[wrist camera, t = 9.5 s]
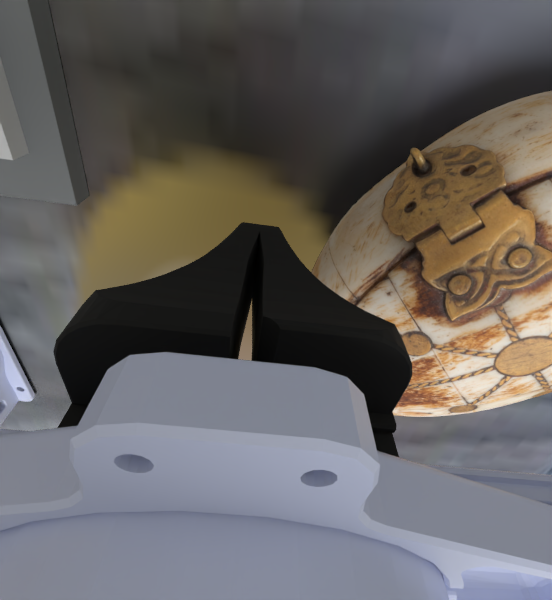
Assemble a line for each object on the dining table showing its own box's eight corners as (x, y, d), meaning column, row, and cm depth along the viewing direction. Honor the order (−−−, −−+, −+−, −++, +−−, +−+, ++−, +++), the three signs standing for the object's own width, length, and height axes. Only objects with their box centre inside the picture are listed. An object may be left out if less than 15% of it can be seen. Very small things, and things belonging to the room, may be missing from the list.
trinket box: (699, 126, 14) (1053, 198, 7) (468, 362, 22) (539, 486, 16) (406, -1, 11) (556, -51, 5) (277, 317, 20) (276, 440, 14)
